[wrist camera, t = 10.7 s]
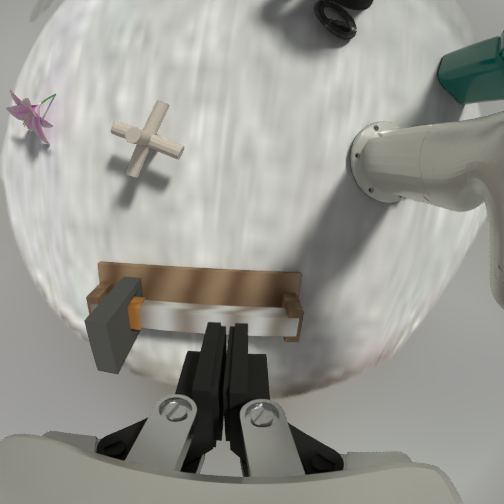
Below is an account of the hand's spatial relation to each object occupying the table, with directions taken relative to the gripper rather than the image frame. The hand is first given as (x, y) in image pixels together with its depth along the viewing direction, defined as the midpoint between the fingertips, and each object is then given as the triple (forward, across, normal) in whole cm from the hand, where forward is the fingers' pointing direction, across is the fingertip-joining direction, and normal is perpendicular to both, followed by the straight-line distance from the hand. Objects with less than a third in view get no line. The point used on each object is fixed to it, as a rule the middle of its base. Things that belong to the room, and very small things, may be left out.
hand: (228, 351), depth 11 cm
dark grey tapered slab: (+28, +17, +13) cm, 35 cm away
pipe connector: (+30, +12, -11) cm, 34 cm away
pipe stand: (+30, +7, +14) cm, 33 cm away
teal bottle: (+32, -37, -29) cm, 57 cm away
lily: (+29, +34, -18) cm, 48 cm away
